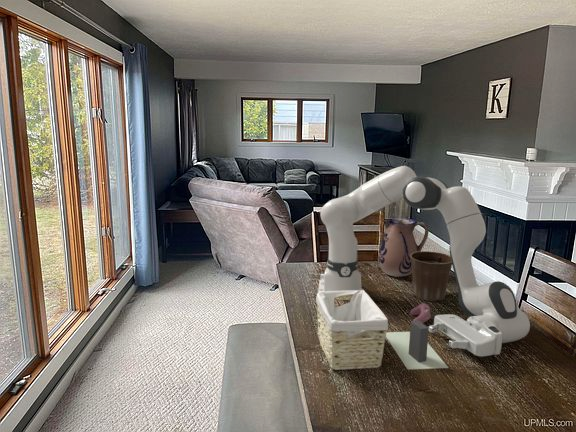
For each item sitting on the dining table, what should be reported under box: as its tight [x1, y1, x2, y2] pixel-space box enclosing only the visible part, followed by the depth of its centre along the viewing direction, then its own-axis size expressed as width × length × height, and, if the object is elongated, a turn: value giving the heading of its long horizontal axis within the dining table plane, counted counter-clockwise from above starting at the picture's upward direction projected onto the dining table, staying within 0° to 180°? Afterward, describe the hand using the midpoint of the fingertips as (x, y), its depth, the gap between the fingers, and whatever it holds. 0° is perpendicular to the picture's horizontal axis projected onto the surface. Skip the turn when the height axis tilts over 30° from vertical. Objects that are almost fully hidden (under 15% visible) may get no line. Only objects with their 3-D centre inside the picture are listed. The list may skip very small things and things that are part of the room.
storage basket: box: [315, 289, 389, 371], centre depth 127 cm, size 24×16×15 cm
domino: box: [409, 320, 430, 362], centre depth 123 cm, size 5×3×10 cm, turn 17°
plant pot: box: [410, 250, 453, 302], centre depth 170 cm, size 16×16×16 cm
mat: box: [385, 331, 449, 370], centre depth 129 cm, size 22×12×1 cm, turn 5°
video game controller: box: [409, 302, 432, 324], centre depth 149 cm, size 10×5×7 cm, turn 169°
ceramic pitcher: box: [377, 217, 429, 278], centre depth 196 cm, size 18×21×25 cm
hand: (439, 336), depth 125 cm, fingers open, 8 cm apart
